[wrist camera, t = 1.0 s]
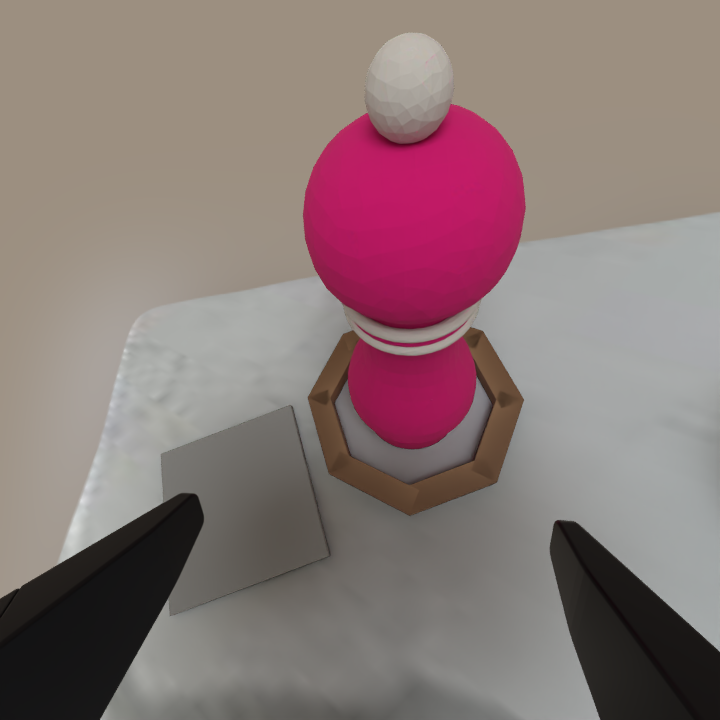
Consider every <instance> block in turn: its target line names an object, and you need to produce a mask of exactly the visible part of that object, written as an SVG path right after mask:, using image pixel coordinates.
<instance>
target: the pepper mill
mask: <svg viewBox="0 0 720 720" xmlns="http://www.w3.org/2000/svg"><path fill="white" fill-rule="evenodd" d="M453 92H454V81H453V70H452V66H451V62H450V60H449V58H448V56H447V54H446V53H445V51H444V49H443V48H442V46H441V45H440V44H439V43H438V42H437V41H436V40H434V39H433V38H431V37H429V36H427V35H425V34H423V33H405V34H402V35H399V36H397V37H395V38H393V39H391V40H389V41H387V42H386V44H384V46H383V47H382V48H381V49H380V50H379V51H378V52H377V54H376V56H375V58H374V60H373V61H372V63H371V65H370V67H369V69H368V72H367V76H366V81H365V103H366V107H367V111H368V113H366V114H365V115H363V116H361V117H360V118H358V119H356V120H355V121H354V122H352V123H351V124H349V125H348V126H347V127H345V128H344V129H342V130H341V131H340V132H339V133H338V134H337V135H336V136H335V137H334V138H333V139H332V140H331V141H330V142H329V143H328V145H327V146H326V148H325V149H324V151H323V152H322V154H321V155H320V157H319V159H318V160H317V162H316V164H315V166H314V167H313V171H312V173H311V176H310V179H309V183H308V185H307V189H306V192H305V201H304V211H303V219H304V231H305V240H306V244H307V247H308V250H309V254H310V256H311V259H312V262H313V265H314V268H315V270H316V272H317V273H318V275H319V277H320V278H321V280H322V281H323V283H324V285H325V286H326V288H327V289H328V290H329V291H330V292H331V293H332V294H333V295H334V296H335V297H336V298H337V299H339V300H340V301H341V302H342V304H343V307H344V311H345V315H346V317H347V320H348V322H349V324H350V326H351V327H352V329H353V330H354V332H355V333H356V334H357V335H358V336H359V337H360V339H359V341H358V342H357V344H356V346H355V348H354V351H353V354H352V357H351V360H350V365H349V370H348V386H349V391H350V396H351V400H352V403H353V405H354V408H355V410H356V411H357V413H358V415H359V416H360V418H361V419H362V420H363V421H364V422H365V423H366V424H367V425H368V426H369V427H370V428H371V429H372V430H374V431H375V432H376V434H377V435H378V436H379V437H381V438H382V439H383V440H384V441H386V442H388V443H389V444H391V445H393V446H396V447H400V448H405V449H421V448H424V447H428V446H431V445H433V444H435V443H437V442H439V441H440V440H441V439H442V438H444V437H445V436H446V435H447V433H448V432H450V431H451V430H453V429H454V428H455V427H456V426H457V425H458V424H459V423H460V422H461V421H462V420H463V418H464V417H465V416H466V414H467V413H468V411H469V409H470V407H471V404H472V402H473V398H474V394H475V388H476V369H475V364H474V360H473V357H472V354H471V352H470V349H469V346H468V344H467V343H466V341H465V339H464V338H463V335H464V334H465V333H466V332H467V331H468V329H469V328H470V326H471V325H472V323H473V321H474V320H475V318H476V316H477V313H478V310H479V305H480V302H481V299H482V298H483V297H484V296H485V295H486V294H487V293H489V292H490V291H491V290H492V289H493V287H494V286H495V285H496V284H497V283H498V282H499V280H500V279H501V278H502V276H503V275H504V273H505V272H506V270H507V268H508V266H509V264H510V262H511V260H512V258H513V256H514V254H515V252H516V250H517V247H518V244H519V240H520V237H521V232H522V226H523V220H524V215H525V207H526V206H525V196H524V186H523V177H522V173H521V171H520V168H519V166H518V163H517V161H516V158H515V155H514V153H513V150H512V149H511V148H510V146H509V145H508V143H507V142H506V141H505V140H504V138H503V137H502V135H501V134H500V133H499V132H498V131H497V129H496V128H495V127H493V126H492V125H491V124H489V123H488V122H487V121H485V120H484V119H482V118H481V117H480V116H478V115H477V114H475V113H474V112H472V111H470V110H467V109H465V108H463V107H460V106H457V105H452V104H451V101H452V97H453Z"/></svg>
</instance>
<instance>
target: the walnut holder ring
mask: <svg viewBox="0 0 720 720" xmlns="http://www.w3.org/2000/svg"><path fill="white" fill-rule="evenodd" d="M463 338H464V339H465V341H466V343H467V344H468V346H469V349H470V352H471V354H472V357H473V360H474V364H475V369H476V375H477V377H478V379H479V380H480V382H481V384H482V386H483V388H484V389H485V391H486V393H487V395H488V397H489V399H490V400H491V402H492V404H493V407H492V410H491V413H490V416H489V418H488V421H487V424H486V427H485V430H484V432H483V435H482V438H481V441H480V444H479V446H478V449H477V452H476V455H475V457H474V460H473V461H472V462H470V463H467V464H464V465H462V466H459V467H456V468H454V469H451V470H448V471H446V472H443V473H440V474H438V475H435V476H433V477H430V478H427V479H425V480H422V481H419V482H417V483H414V484H411V485H408V484H406V483H404V482H402V481H400V480H398V479H395V478H393V477H391V476H389V475H387V474H385V473H383V472H381V471H379V470H377V469H375V468H373V467H371V466H369V465H367V464H365V463H363V462H361V461H359V460H357V459H355V458H352V457H351V454H350V451H349V448H348V445H347V442H346V438H345V435H344V432H343V429H342V426H341V423H340V419H339V416H338V413H337V410H336V407H335V404H334V403H335V401H336V399H337V397H338V396H339V394H340V392H341V390H342V388H343V386H344V384H345V382H346V380H347V378H348V370H349V365H350V360H351V357H352V354H353V351H354V348H355V346H356V344H357V342H358V341H359V339H360V337H359V336H358V335H357V334H356V333H355V332H354V330H353V331H350V332H348V333H345V334H343V335H342V337H341V339H340V341H339V342H338V344H337V346H336V348H335V350H334V351H333V353H332V355H331V357H330V359H329V360H328V362H327V364H326V366H325V367H324V369H323V371H322V373H321V375H320V376H319V378H318V380H317V382H316V384H315V385H314V387H313V389H312V391H311V393H310V394H309V396H308V400H309V404H310V407H311V411H312V415H313V418H314V422H315V425H316V429H317V432H318V436H319V440H320V443H321V447H322V450H323V454H324V458H325V461H326V465H327V468H328V472H329V474H330V475H332V476H334V477H336V478H338V479H340V480H342V481H344V482H346V483H348V484H350V485H352V486H354V487H355V488H357V489H359V490H361V491H363V492H365V493H367V494H369V495H371V496H373V497H375V498H377V499H379V500H381V501H382V502H384V503H386V504H388V505H390V506H392V507H394V508H396V509H398V510H400V511H402V512H404V513H406V514H407V515H409V516H411V515H413V514H416V513H419V512H421V511H424V510H426V509H429V508H432V507H434V506H437V505H440V504H442V503H445V502H448V501H450V500H453V499H456V498H458V497H461V496H463V495H466V494H469V493H471V492H474V491H477V490H479V489H482V488H485V487H487V486H490V485H493V484H495V483H496V482H497V480H498V477H499V474H500V471H501V468H502V465H503V462H504V459H505V456H506V453H507V450H508V447H509V444H510V441H511V438H512V435H513V432H514V429H515V425H516V422H517V419H518V416H519V413H520V410H521V407H522V404H523V401H524V399H523V397H522V396H521V394H520V392H519V391H518V389H517V387H516V386H515V384H514V382H513V381H512V379H511V377H510V376H509V374H508V372H507V371H506V369H505V367H504V366H503V364H502V362H501V361H500V359H499V357H498V355H497V354H496V352H495V350H494V349H493V347H492V345H491V344H490V342H489V340H488V339H487V337H486V335H485V334H484V332H483V331H481V330H478V329H475V328H471V327H470V328H469V329H468V331H467V332H466V333H465V334H464V335H463Z"/></svg>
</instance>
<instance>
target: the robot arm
mask: <svg viewBox="0 0 720 720" xmlns="http://www.w3.org/2000/svg"><path fill="white" fill-rule="evenodd" d="M203 523H204V513H203V510H202V507H201V504H200V500H199V497H198V495H197V494H195V493H180V494H178V495H176V496H174V497H173V498H171V499H169V500H168V501H166V502H164V503H162V504H161V505H159V506H157V507H156V508H154V509H152V510H151V511H149V512H147V513H145V514H144V515H142V516H140V517H139V518H137V519H135V520H133V521H132V522H130V523H128V524H127V525H125V526H123V527H122V528H120V529H118V530H116V531H115V532H113V533H111V534H110V535H108V536H106V537H105V538H103V539H101V540H99V541H98V542H96V543H94V544H93V545H91V546H89V547H87V548H86V549H84V550H82V551H81V552H79V553H77V554H76V555H74V556H72V557H70V558H69V559H67V560H65V561H64V562H62V563H60V564H59V565H57V566H55V567H53V568H52V569H50V570H48V571H47V572H45V573H43V574H41V575H40V576H38V577H36V578H35V579H33V580H31V581H30V582H28V583H26V584H24V585H23V586H22V587H21V588H20V589H16V590H14V591H12V592H11V593H9V594H8V595H6V596H4V597H2V598H1V599H0V720H100V718H101V717H102V715H103V713H104V711H105V710H106V708H107V706H108V704H109V702H110V701H111V699H112V697H113V695H114V694H115V692H116V690H117V688H118V686H119V685H120V683H121V681H122V679H123V678H124V676H125V674H126V672H127V670H128V669H129V667H130V665H131V663H132V662H133V660H134V658H135V656H136V654H137V653H138V651H139V649H140V647H141V646H142V644H143V642H144V640H145V639H146V637H147V635H148V633H149V631H150V630H151V628H152V626H153V624H154V623H155V621H156V619H157V617H158V615H159V614H160V612H161V610H162V608H163V607H164V605H165V603H166V601H167V599H168V598H169V596H170V594H171V592H172V590H173V589H174V587H175V585H176V583H177V581H178V579H179V577H180V575H181V573H182V570H183V568H184V566H185V564H186V562H187V559H188V557H189V555H190V553H191V551H192V548H193V546H194V544H195V542H196V540H197V537H198V535H199V533H200V531H201V529H202V526H203ZM550 555H551V560H552V564H553V568H554V572H555V576H556V580H557V584H558V588H559V592H560V596H561V600H562V604H563V608H564V612H565V616H566V620H567V624H568V628H569V632H570V635H571V638H572V641H573V644H574V647H575V650H576V653H577V655H578V658H579V661H580V664H581V667H582V669H583V672H584V675H585V678H586V681H587V683H588V686H589V689H590V692H591V695H592V698H593V700H594V703H595V706H596V709H597V712H598V714H599V717H600V720H720V652H719V651H718V650H717V649H716V648H715V647H714V646H713V645H712V644H711V643H710V642H708V641H707V640H706V639H705V638H704V637H703V636H702V635H701V634H700V633H699V632H697V631H696V630H695V629H694V628H693V627H692V626H691V625H690V624H689V623H687V622H686V621H685V620H684V619H683V618H682V617H681V616H680V615H679V614H678V613H676V612H675V611H674V610H673V609H672V608H671V607H670V606H669V605H668V604H666V603H665V602H664V601H663V600H662V599H661V598H660V597H659V596H658V595H657V594H655V593H654V592H653V591H652V590H651V589H650V588H649V587H648V586H647V585H645V584H644V583H643V582H642V581H641V580H640V579H639V578H638V577H637V576H636V575H634V574H633V573H632V572H631V571H630V570H629V569H628V568H627V567H626V566H624V565H623V564H622V563H621V562H620V561H619V560H618V559H617V558H616V557H615V556H613V555H612V554H611V553H610V552H609V551H608V550H607V549H606V548H605V547H604V546H602V545H601V544H600V543H599V542H598V541H597V540H596V539H595V538H594V537H592V536H591V535H590V534H589V533H588V532H587V531H586V530H585V529H584V528H583V527H581V526H580V525H579V524H578V523H576V522H574V521H564V520H557V521H555V523H554V526H553V532H552V537H551V543H550Z"/></svg>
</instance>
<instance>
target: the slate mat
mask: <svg viewBox="0 0 720 720" xmlns="http://www.w3.org/2000/svg"><path fill="white" fill-rule="evenodd" d="M161 467H162V484H163V502H166V501H168V500H169V499H171V498H173V497H174V496H176V495H178V494H180V493H195V494H197V495H198V497H199V500H200V504H201V507H202V510H203V513H204V523H203V526H202V529H201V531H200V533H199V535H198V537H197V540H196V542H195V544H194V546H193V548H192V551H191V553H190V555H189V557H188V559H187V562H186V564H185V566H184V568H183V570H182V573H181V575H180V577H179V579H178V581H177V583H176V585H175V587H174V589H173V590H172V592H171V594H170V596H169V609H170V616H172V615H175V614H178V613H180V612H183V611H185V610H188V609H191V608H193V607H196V606H199V605H201V604H204V603H207V602H209V601H212V600H215V599H217V598H220V597H222V596H225V595H228V594H230V593H233V592H236V591H238V590H241V589H244V588H246V587H249V586H252V585H254V584H257V583H259V582H262V581H265V580H267V579H270V578H273V577H275V576H278V575H281V574H283V573H286V572H289V571H291V570H294V569H297V568H299V567H302V566H304V565H307V564H310V563H312V562H315V561H318V560H320V559H323V558H326V557H328V556H330V553H329V549H328V545H327V541H326V537H325V533H324V529H323V526H322V522H321V518H320V514H319V510H318V506H317V502H316V498H315V494H314V490H313V486H312V482H311V478H310V474H309V470H308V466H307V462H306V458H305V454H304V450H303V446H302V443H301V439H300V435H299V431H298V427H297V423H296V419H295V415H294V411H293V407H292V406H291V405H289V406H286V407H284V408H281V409H278V410H276V411H273V412H270V413H268V414H265V415H263V416H260V417H257V418H255V419H252V420H249V421H247V422H244V423H241V424H239V425H236V426H234V427H231V428H228V429H226V430H223V431H220V432H218V433H215V434H213V435H210V436H207V437H205V438H202V439H199V440H197V441H194V442H191V443H189V444H186V445H184V446H181V447H178V448H176V449H173V450H170V451H168V452H165V453H162V454H161Z"/></svg>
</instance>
